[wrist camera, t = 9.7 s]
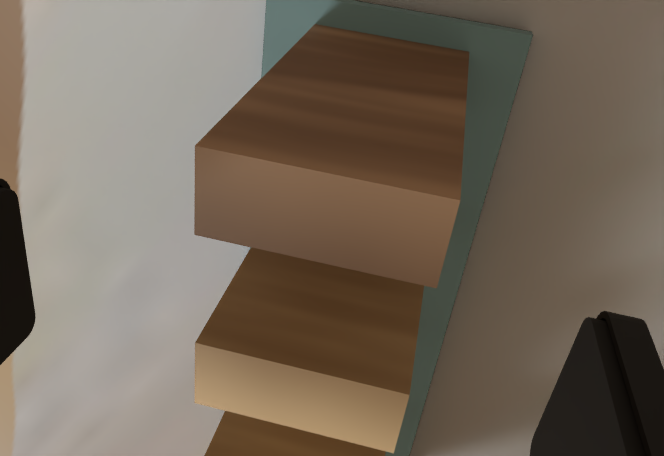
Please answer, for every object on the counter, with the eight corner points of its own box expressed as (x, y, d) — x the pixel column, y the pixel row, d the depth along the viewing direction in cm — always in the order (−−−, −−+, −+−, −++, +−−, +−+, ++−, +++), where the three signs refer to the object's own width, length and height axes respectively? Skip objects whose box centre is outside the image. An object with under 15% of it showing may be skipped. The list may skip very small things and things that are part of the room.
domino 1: (314, 24, 20) (195, 145, 12) (469, 51, 20) (460, 200, 11) (308, 83, 21) (194, 234, 13) (454, 111, 21) (436, 288, 12)
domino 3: (401, 336, 26) (362, 568, 18) (285, 310, 26) (193, 521, 18) (410, 299, 25) (373, 527, 16) (289, 272, 25) (193, 479, 17)
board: (396, 495, 32) (394, 504, 31) (239, 454, 33) (236, 462, 32) (531, 31, 19) (532, 35, 19) (271, -14, 20) (267, -12, 20)
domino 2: (425, 237, 23) (393, 453, 15) (296, 209, 24) (194, 402, 15) (436, 190, 22) (409, 395, 14) (301, 162, 23) (195, 342, 14)
